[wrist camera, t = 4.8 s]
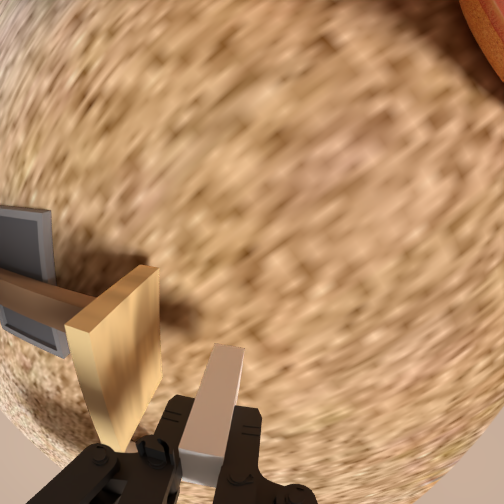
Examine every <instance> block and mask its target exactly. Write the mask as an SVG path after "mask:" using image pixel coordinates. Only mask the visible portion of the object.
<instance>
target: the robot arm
mask: <svg viewBox="0 0 504 504" xmlns="http://www.w3.org/2000/svg"><path fill="white" fill-rule="evenodd" d="M244 349H245V348H241V347H235V346H228V345H222V344H217V343H215V344H214V347H213V350H212V352H211V355H210V358H209V361H208V364H207V367H206V369H205V372H204V375H203V378H202V381H201V384H200V387H199V389H198V392H197V395H196V398H190V397H185V396H181V395H177V394H176V395H175V396H174V397H173V398H172V399H170V400H169V401H168V403H167V406H166V408H165V411H164V412H163V415H162V417H161V419H160V421H159V424H158V426H157V428H156V430H155V433H154V435H146V436H143V437H142V438H140V439H139V440H138V441H137V442H136V443H135V444H136V447H137V450H138V452H136V453H123V452H115V451H114V450H113V449H112V448H111V447H110V446H107V445H105V444H100V443H96V444H91V445H90V446H88V447H87V448H85V449H84V450H83V451H82V452H81V453H80V454H79V455H78V456H77V457H76V458H75V459H74V460H73V461H72V462H71V463H70V464H68V465H67V466H66V467H65V468H64V469H63V470H62V471H61V472H60V473H59V474H58V475H57V476H56V477H54V478H53V480H51V481H50V482H49V483H48V484H47V485H46V486H45V487H44V488H42V489H41V490H40V491H39V492H38V493H37V494H36V495H35V496H34V497H32V498H31V499H30V500H29V501H28V502H27V503H26V504H176V503H177V499H178V496H179V492H180V487H179V485H180V482H181V478H182V481H186V482H190V483H195V484H199V485H204V486H210V487H215V488H216V491H215V495H214V500H213V504H318V503H317V500H316V498H315V495H314V493H313V492H312V490H311V489H309V488H308V487H306V486H304V485H300V484H290V485H287V486H282V485H279V484H276V483H273V482H271V481H269V480H267V479H266V478H264V477H263V476H262V474H261V473H260V471H259V469H258V457H259V446H260V435H261V423H262V417H261V414H260V412H259V410H258V408H250V407H243V406H236V402H237V397H238V391H239V386H240V378H241V371H242V364H243V357H244Z"/></svg>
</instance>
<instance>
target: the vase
mask: <svg viewBox="0 0 504 504" xmlns="http://www.w3.org/2000/svg"><path fill="white" fill-rule="evenodd" d="M459 4H460V7H461V10H462V12H463V15H464V17H465V19H466V22H467V24H468V26H469V28H470V30H471V32H472V34H473V36H474V38H475V40H476V42H477V43H478V45H479V47H480V49H481V50H482V52H483V54H484V55H485V57H486V59H487V60H488V62H489V63H490V65H491V66H492V68H493V69H494V71H495V72H496V74H497V75H498V76H499V78H500V79H501V80H502V82H503V83H504V0H459Z"/></svg>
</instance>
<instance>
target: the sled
mask: <svg viewBox="0 0 504 504" xmlns="http://www.w3.org/2000/svg"><path fill="white" fill-rule="evenodd" d="M0 305H2V306H4V307H6V308H9V309H11V310H13V311H15V312H17V313H19V314H21V315H24V316H26V317H28V318H30V319H33V320H35V321H37V322H40V323H42V324H44V325H47V326H49V327H52V328H54V329H57V330H59V331H62V332H65V333H66V335H67V339H68V343H69V348H70V352H71V356H72V359H73V363H74V367H75V370H76V374H77V377H78V381H79V384H80V387H81V390H82V393H83V396H84V399H85V402H86V405H87V408H88V411H89V413H90V416H91V419H92V421H93V424H94V426H95V429H96V431H97V434H98V436H99V439H100V441H101V443H102V444H105V445H107V446H110V447H111V448H112V449H113V450H114V451H115V452H123V453H124V452H125V450H126V448H127V446H128V444H129V442H130V440H131V438H132V436H133V434H134V432H135V430H136V428H137V426H138V424H139V422H140V420H141V418H142V416H143V414H144V412H145V410H146V408H147V406H148V404H149V403H150V401H151V399H152V397H153V395H154V393H155V391H156V389H157V387H158V385H159V383H160V381H161V379H162V378H163V377H162V363H161V345H160V317H159V268H157V267H151V266H146V265H139V266H137V267H136V268H135V269H133V270H132V271H131V272H129V273H128V274H127V275H125V276H124V277H123V278H122V279H120V280H119V281H118V282H116V283H115V284H114V285H113V286H111V287H110V288H109V289H107V290H106V291H105V292H104V293H102V294H101V295H100V296H99V297H97V298H96V297H93V296H89V295H85V294H82V293H78V292H74V291H71V290H67V289H64V288H61V287H57V286H54V285H51V284H47V283H44V282H41V281H38V280H35V279H32V278H29V277H26V276H23V275H20V274H17V273H14V272H11V271H8V270H5V269H2V268H0Z"/></svg>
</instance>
